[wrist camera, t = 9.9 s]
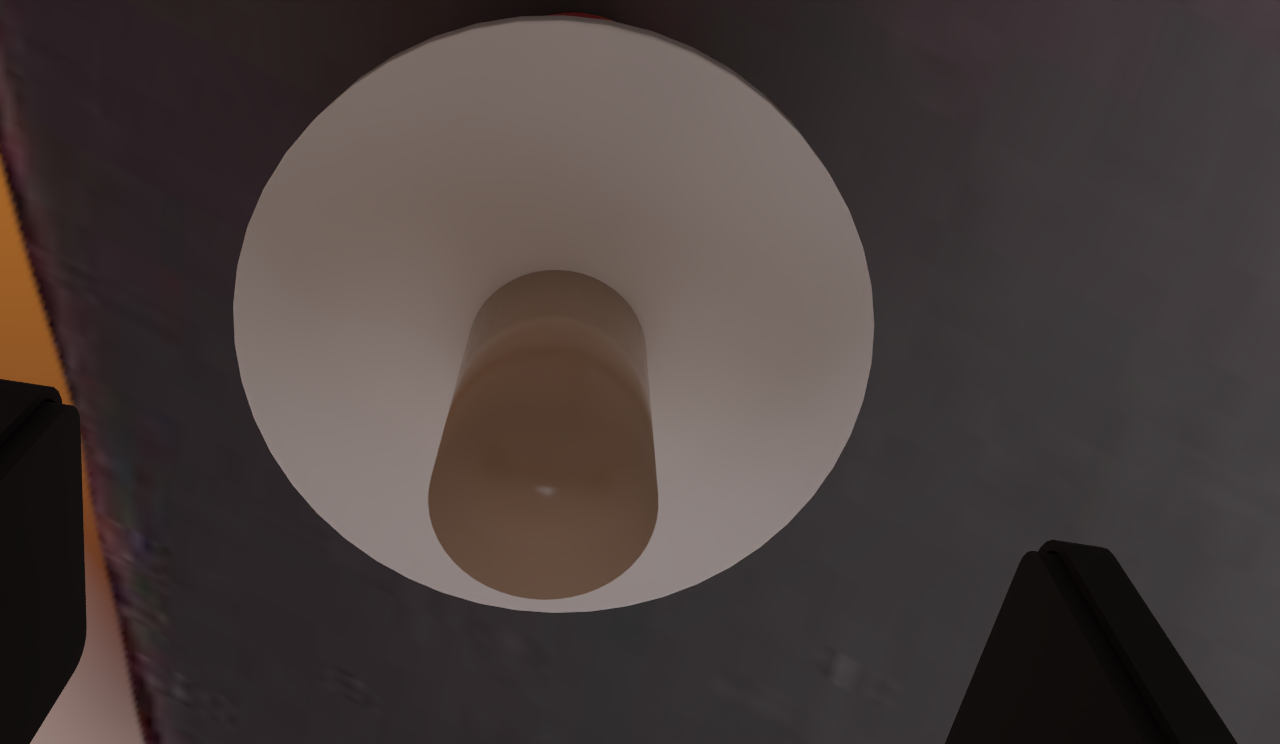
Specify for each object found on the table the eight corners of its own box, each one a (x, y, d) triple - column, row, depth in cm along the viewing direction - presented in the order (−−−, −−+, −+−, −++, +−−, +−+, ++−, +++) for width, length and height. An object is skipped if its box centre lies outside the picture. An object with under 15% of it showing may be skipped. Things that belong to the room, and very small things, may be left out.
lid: (263, -43, 16) (115, 12, 11) (934, 79, 17) (1067, 177, 12) (241, 540, 20) (125, 767, 16) (784, 611, 21) (838, 845, 17)
